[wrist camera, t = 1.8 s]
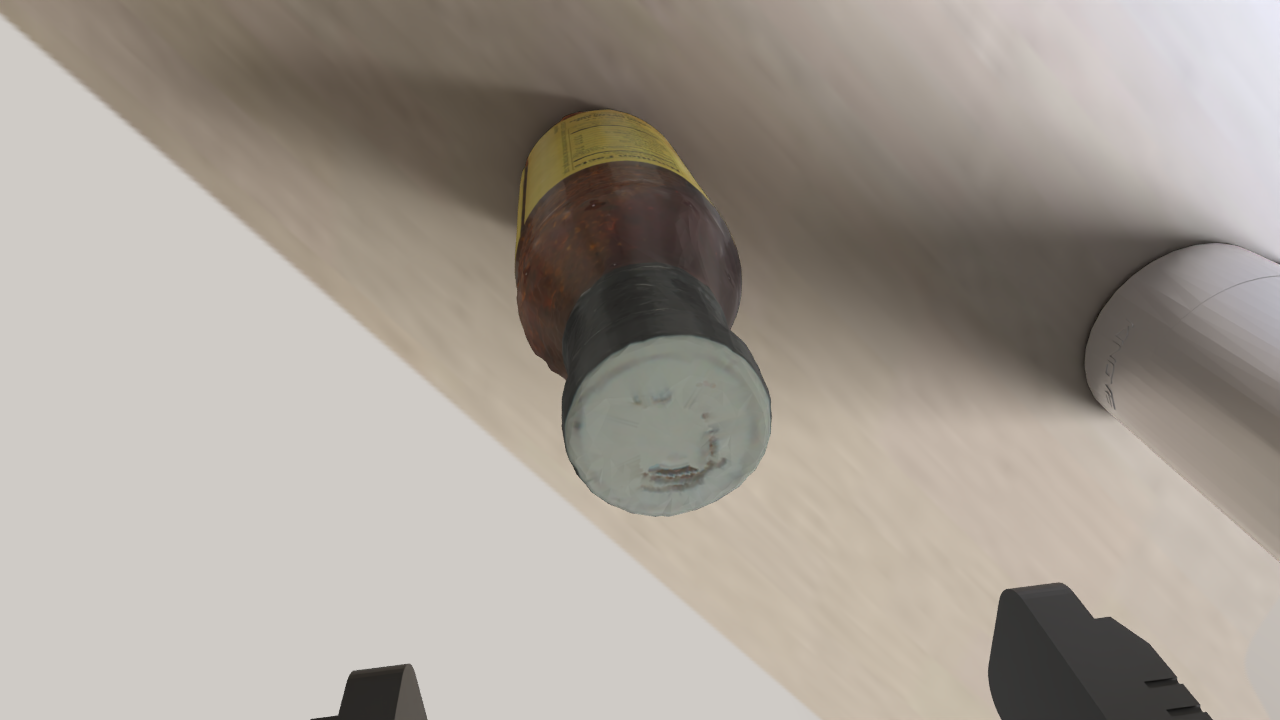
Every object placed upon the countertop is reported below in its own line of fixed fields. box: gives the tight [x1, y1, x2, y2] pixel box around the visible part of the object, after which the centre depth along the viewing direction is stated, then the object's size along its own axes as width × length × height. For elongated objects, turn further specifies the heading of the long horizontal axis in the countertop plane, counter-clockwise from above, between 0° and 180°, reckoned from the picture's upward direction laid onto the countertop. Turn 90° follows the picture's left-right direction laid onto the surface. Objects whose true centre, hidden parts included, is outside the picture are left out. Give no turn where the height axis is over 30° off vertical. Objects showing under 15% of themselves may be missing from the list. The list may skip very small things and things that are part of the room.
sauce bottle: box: [515, 109, 772, 517], centre depth 25 cm, size 7×6×20 cm
